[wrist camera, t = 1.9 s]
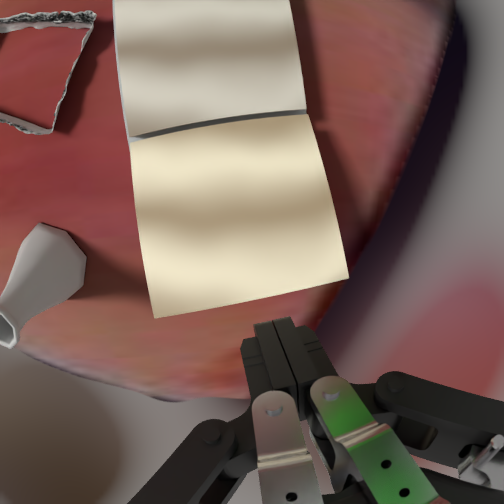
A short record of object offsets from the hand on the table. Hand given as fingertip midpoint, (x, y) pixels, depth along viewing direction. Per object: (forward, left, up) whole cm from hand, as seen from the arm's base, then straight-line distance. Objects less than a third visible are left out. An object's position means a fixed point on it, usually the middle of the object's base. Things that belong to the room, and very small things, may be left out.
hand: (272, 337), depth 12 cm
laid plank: (-15, 0, -12) cm, 19 cm away
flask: (-1, -17, -13) cm, 21 cm away
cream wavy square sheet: (-3, 0, -9) cm, 10 cm away
